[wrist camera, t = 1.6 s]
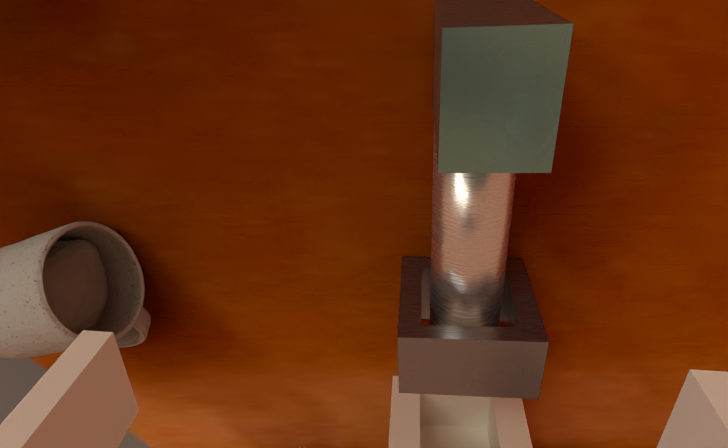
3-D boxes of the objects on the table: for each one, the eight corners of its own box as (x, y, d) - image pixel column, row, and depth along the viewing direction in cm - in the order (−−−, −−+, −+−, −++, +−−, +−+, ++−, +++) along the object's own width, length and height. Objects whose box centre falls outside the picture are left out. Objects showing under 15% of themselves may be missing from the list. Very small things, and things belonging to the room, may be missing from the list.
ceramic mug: (4, 233, 34) (-96, 307, 27) (97, 197, 32) (14, 268, 25) (99, 343, 39) (34, 429, 32) (186, 319, 36) (135, 405, 30)
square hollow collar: (402, 256, 32) (397, 337, 25) (522, 258, 31) (548, 342, 24) (402, 306, 34) (398, 392, 27) (515, 309, 33) (538, 399, 26)
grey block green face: (435, -2, 24) (442, 27, 16) (522, -6, 23) (573, 23, 15) (428, 318, 33) (430, 435, 25) (489, 320, 33) (511, 439, 25)
